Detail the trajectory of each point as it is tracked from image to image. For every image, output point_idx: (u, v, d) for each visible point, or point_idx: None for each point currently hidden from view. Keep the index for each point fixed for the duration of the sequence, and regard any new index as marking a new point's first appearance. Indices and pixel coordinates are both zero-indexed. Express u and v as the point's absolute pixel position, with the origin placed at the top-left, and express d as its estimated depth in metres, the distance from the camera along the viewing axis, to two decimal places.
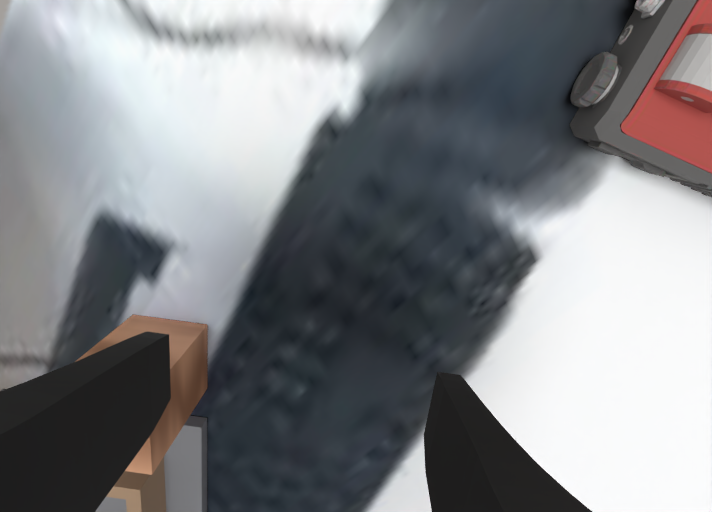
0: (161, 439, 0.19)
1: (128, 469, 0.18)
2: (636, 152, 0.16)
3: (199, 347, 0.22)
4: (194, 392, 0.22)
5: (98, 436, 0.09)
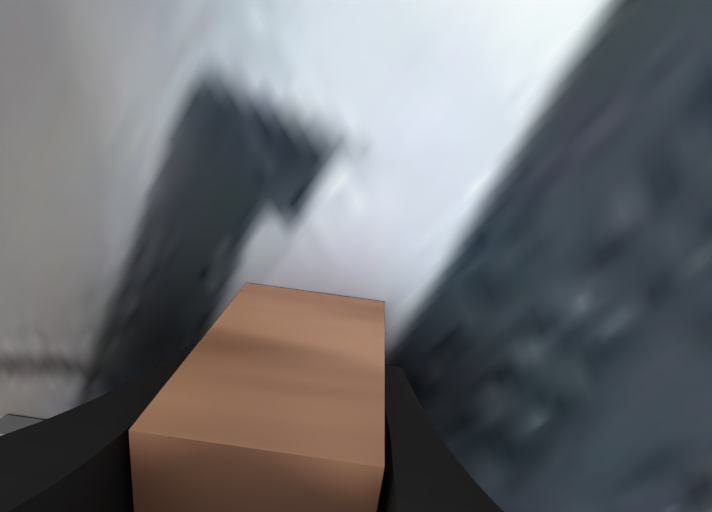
0: None
1: None
2: None
3: None
4: None
5: None
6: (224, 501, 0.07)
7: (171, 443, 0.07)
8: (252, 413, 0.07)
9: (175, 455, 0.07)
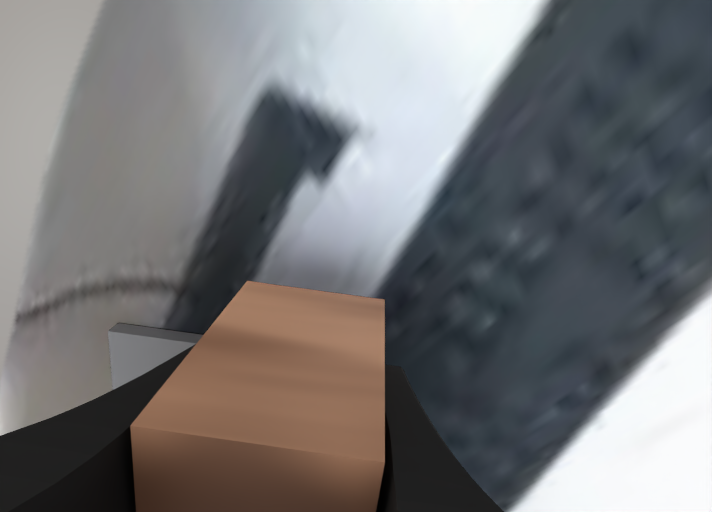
0: None
1: None
2: None
3: None
4: None
5: None
6: (226, 496, 0.07)
7: (173, 438, 0.07)
8: (253, 409, 0.07)
9: (177, 450, 0.07)
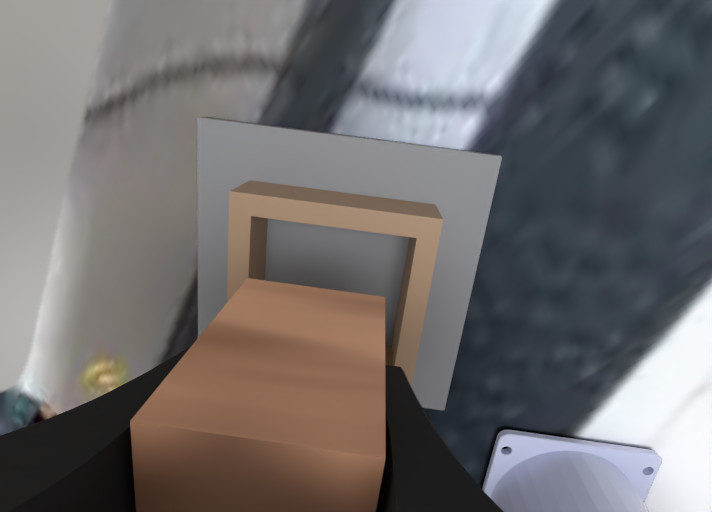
0: None
1: None
2: None
3: None
4: None
5: None
6: (226, 492, 0.07)
7: (172, 434, 0.07)
8: (253, 405, 0.07)
9: (176, 446, 0.07)
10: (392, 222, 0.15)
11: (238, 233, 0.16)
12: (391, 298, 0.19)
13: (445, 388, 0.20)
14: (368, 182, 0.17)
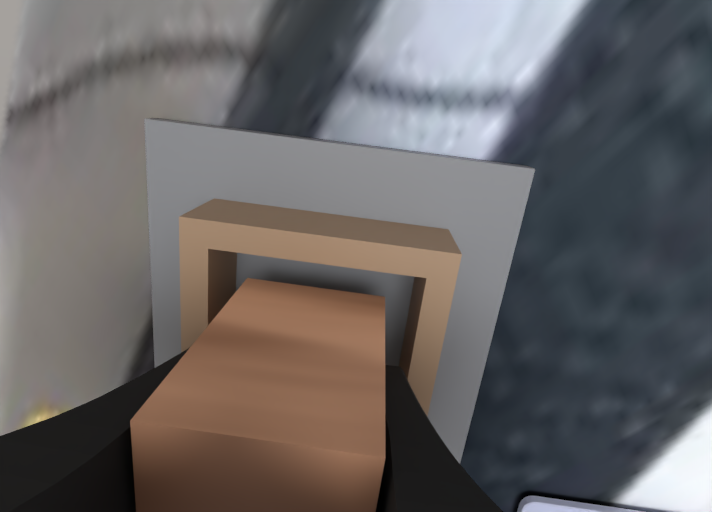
0: None
1: None
2: None
3: None
4: None
5: None
6: (226, 491, 0.07)
7: (172, 433, 0.07)
8: (253, 405, 0.07)
9: (176, 445, 0.07)
10: (394, 258, 0.11)
11: (192, 270, 0.12)
12: (393, 343, 0.15)
13: (458, 450, 0.16)
14: (363, 201, 0.14)
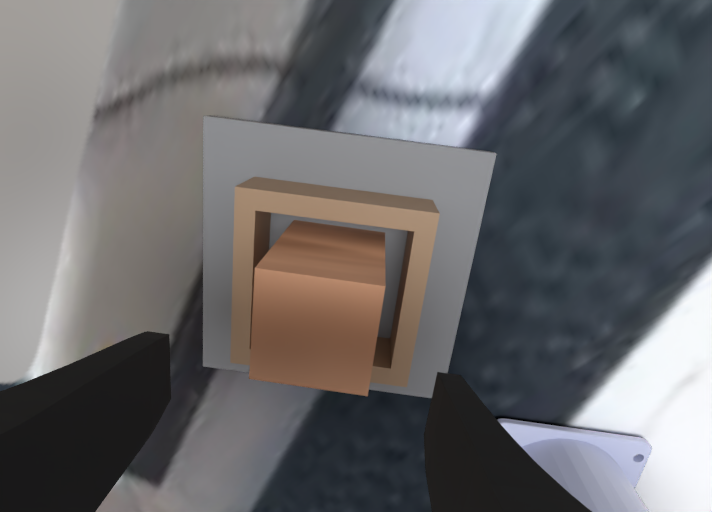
0: None
1: (337, 388, 0.14)
2: None
3: None
4: None
5: (98, 436, 0.09)
6: (301, 309, 0.13)
7: (276, 275, 0.13)
8: (315, 267, 0.14)
9: (278, 282, 0.13)
10: (391, 216, 0.16)
11: (243, 227, 0.16)
12: (390, 290, 0.19)
13: None
14: (368, 178, 0.18)
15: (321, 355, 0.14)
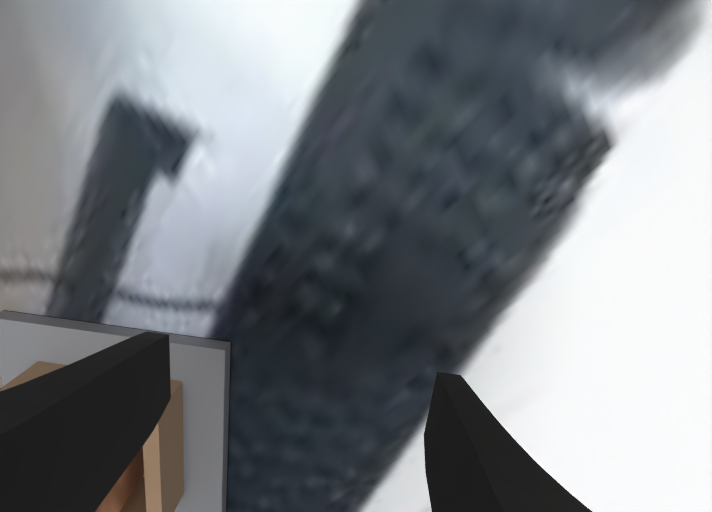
0: None
1: None
2: None
3: None
4: (134, 473, 0.22)
5: (98, 436, 0.09)
6: None
7: None
8: None
9: None
10: None
11: None
12: None
13: (218, 510, 0.25)
14: None
15: None
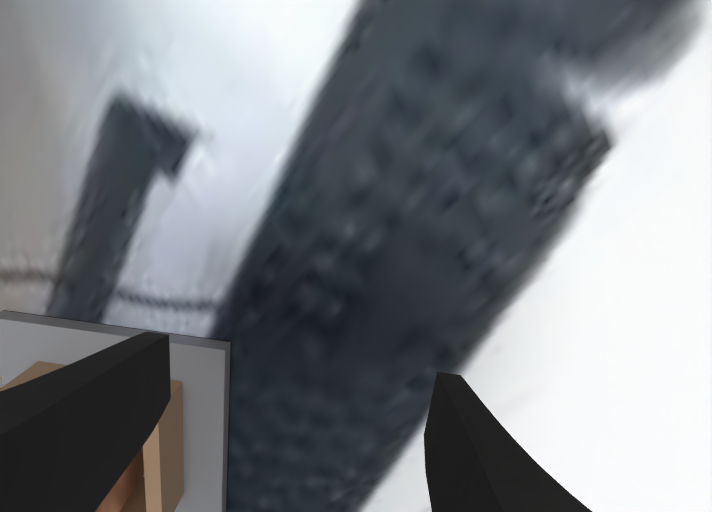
0: None
1: None
2: None
3: None
4: (134, 473, 0.22)
5: (98, 436, 0.09)
6: None
7: None
8: None
9: None
10: None
11: None
12: None
13: (218, 510, 0.25)
14: None
15: None
